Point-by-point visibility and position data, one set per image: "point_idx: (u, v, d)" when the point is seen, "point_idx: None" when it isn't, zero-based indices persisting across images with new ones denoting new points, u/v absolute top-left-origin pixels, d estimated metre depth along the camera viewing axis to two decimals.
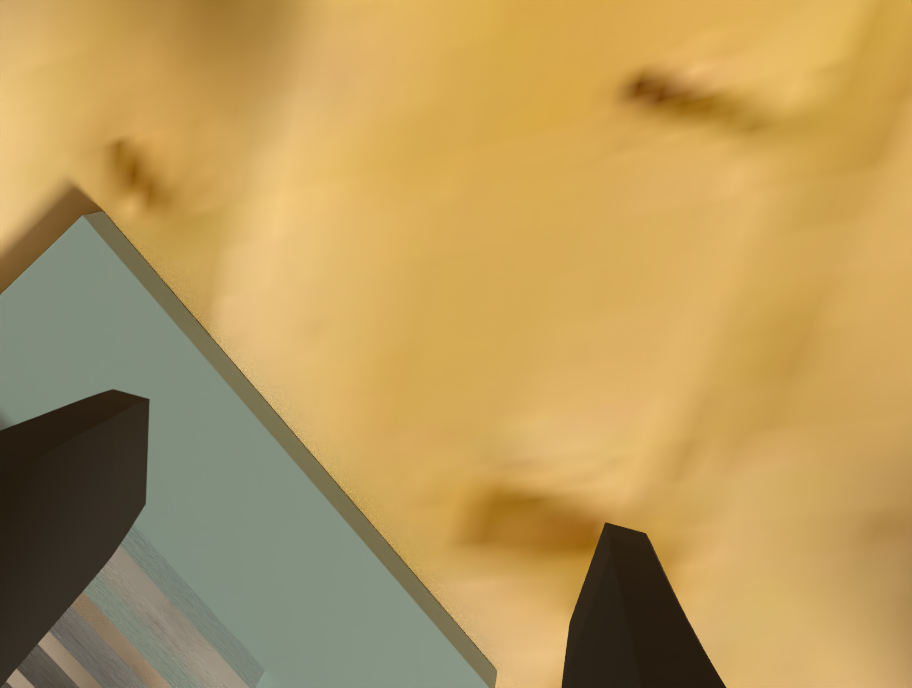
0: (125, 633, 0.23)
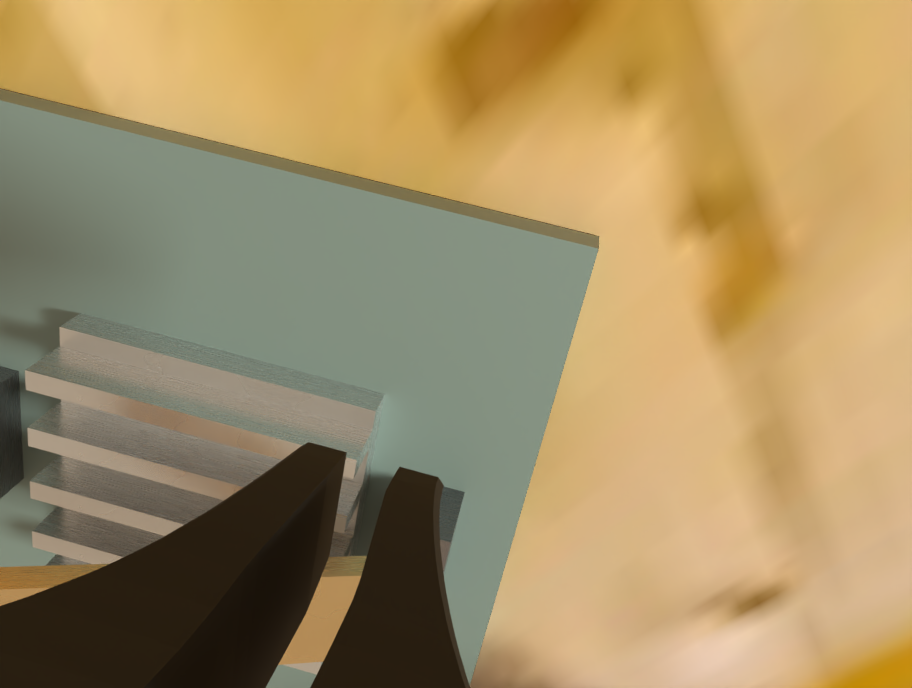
0: (209, 417, 0.21)
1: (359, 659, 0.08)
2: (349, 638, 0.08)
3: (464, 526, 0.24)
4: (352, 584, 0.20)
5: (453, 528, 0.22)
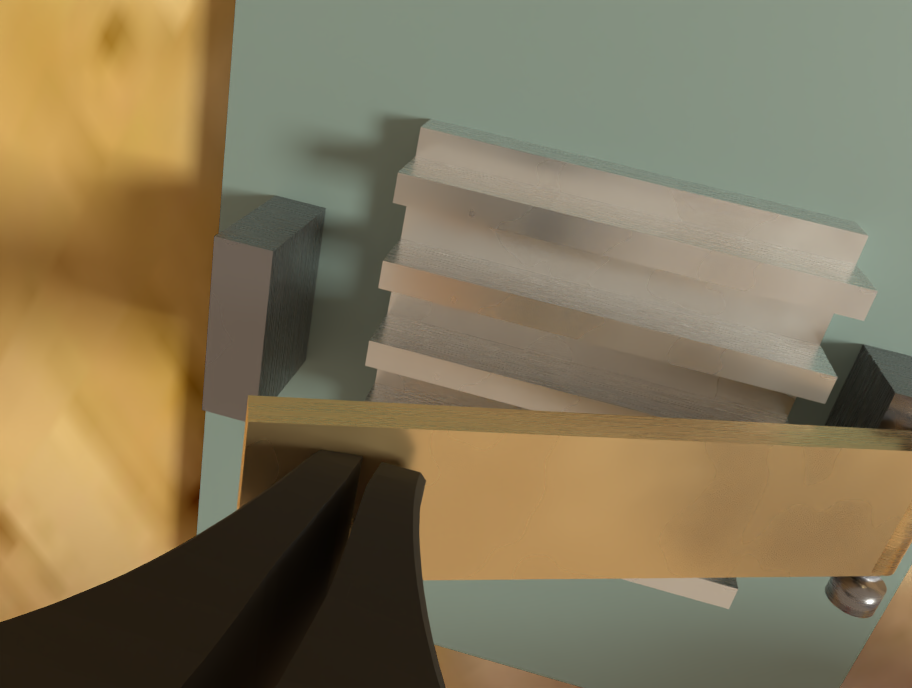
0: (660, 235, 0.15)
1: (332, 651, 0.08)
2: (323, 630, 0.08)
3: None
4: (873, 462, 0.15)
5: None
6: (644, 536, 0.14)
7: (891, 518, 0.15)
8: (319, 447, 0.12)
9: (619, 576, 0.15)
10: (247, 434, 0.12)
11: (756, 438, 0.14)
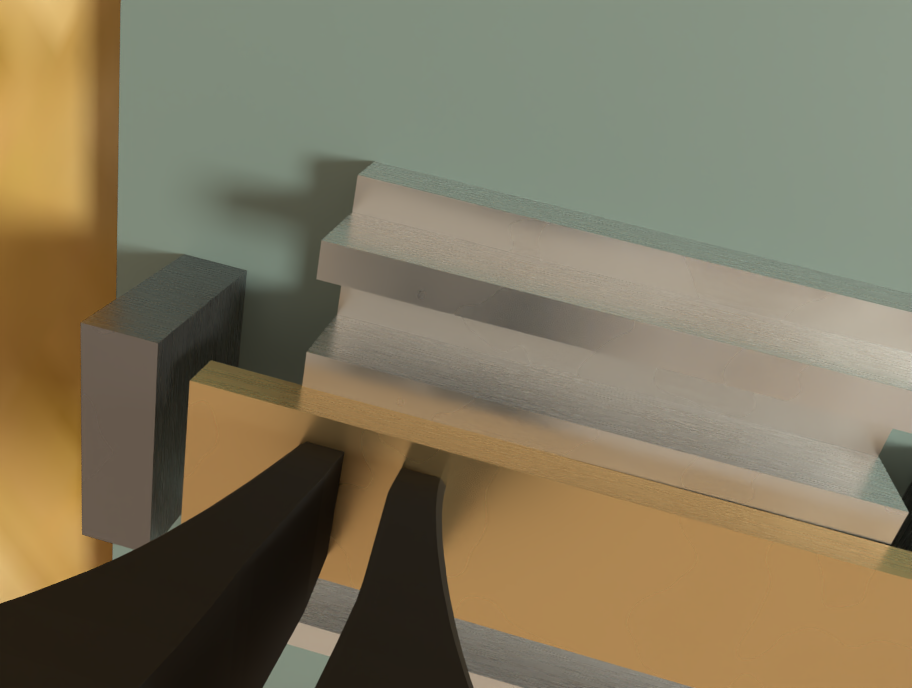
0: (673, 327, 0.11)
1: (363, 660, 0.08)
2: (353, 639, 0.08)
3: None
4: None
5: None
6: (608, 611, 0.12)
7: None
8: (254, 421, 0.12)
9: (580, 651, 0.13)
10: (190, 392, 0.12)
11: (755, 529, 0.12)
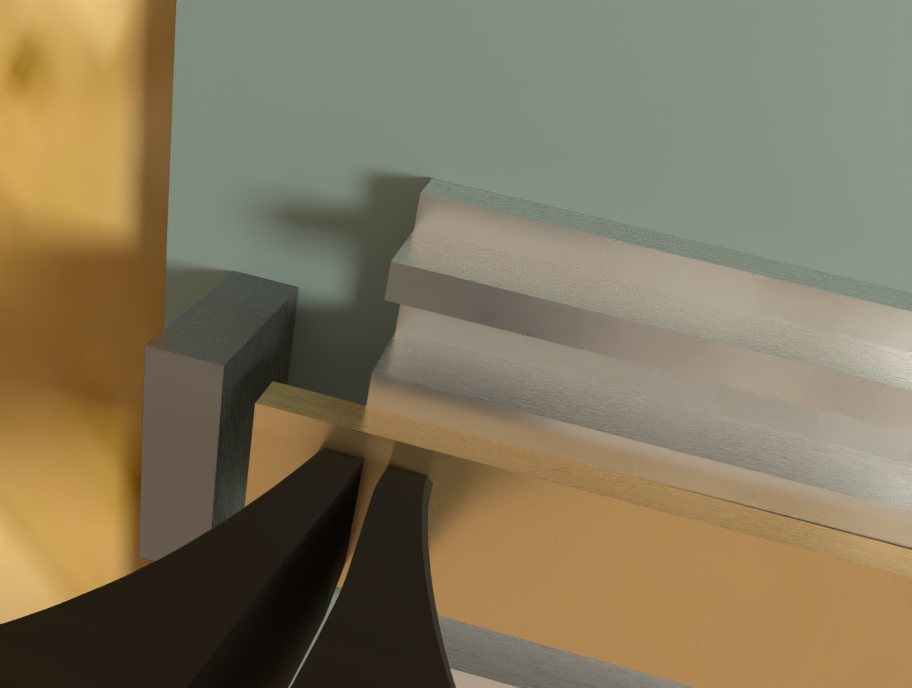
0: (747, 346, 0.11)
1: (343, 655, 0.08)
2: (334, 634, 0.08)
3: None
4: None
5: None
6: (676, 630, 0.12)
7: None
8: (319, 443, 0.12)
9: (646, 670, 0.13)
10: (255, 415, 0.12)
11: (829, 548, 0.11)
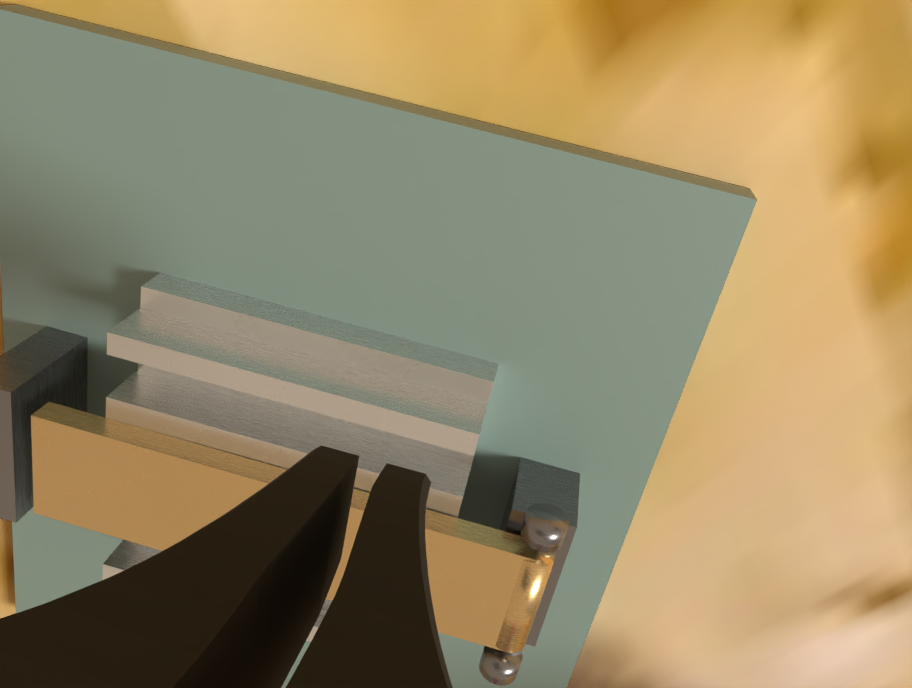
0: (313, 386, 0.19)
1: (339, 653, 0.08)
2: (330, 633, 0.08)
3: None
4: (465, 550, 0.19)
5: (576, 512, 0.20)
6: None
7: (498, 602, 0.19)
8: (71, 440, 0.20)
9: None
10: (32, 422, 0.20)
11: None
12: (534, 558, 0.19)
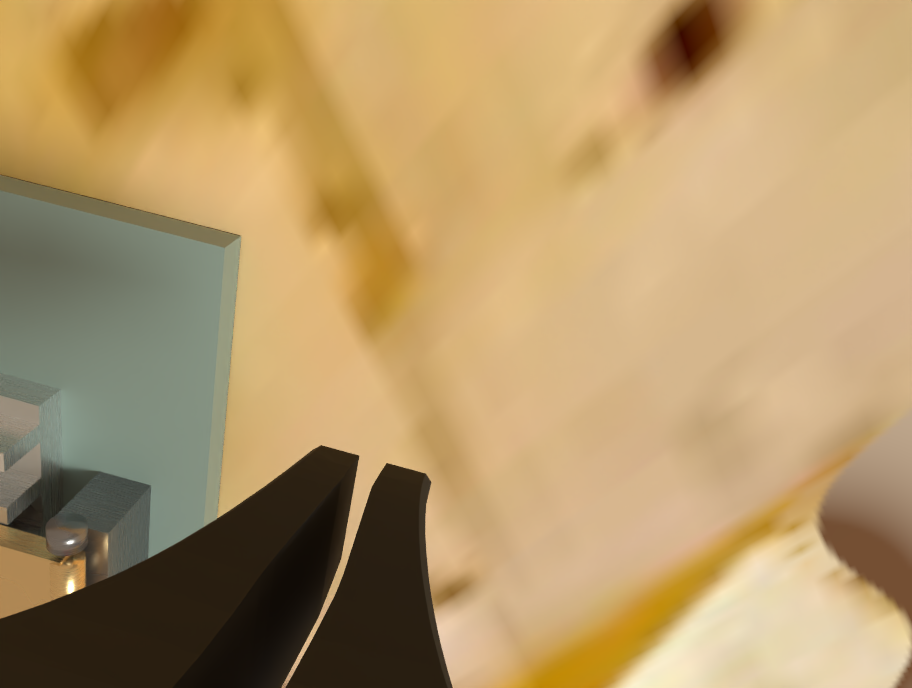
0: None
1: (339, 653, 0.08)
2: (330, 633, 0.08)
3: (157, 519, 0.25)
4: (2, 554, 0.22)
5: (118, 520, 0.23)
6: None
7: (41, 600, 0.22)
8: None
9: None
10: None
11: None
12: (62, 561, 0.22)
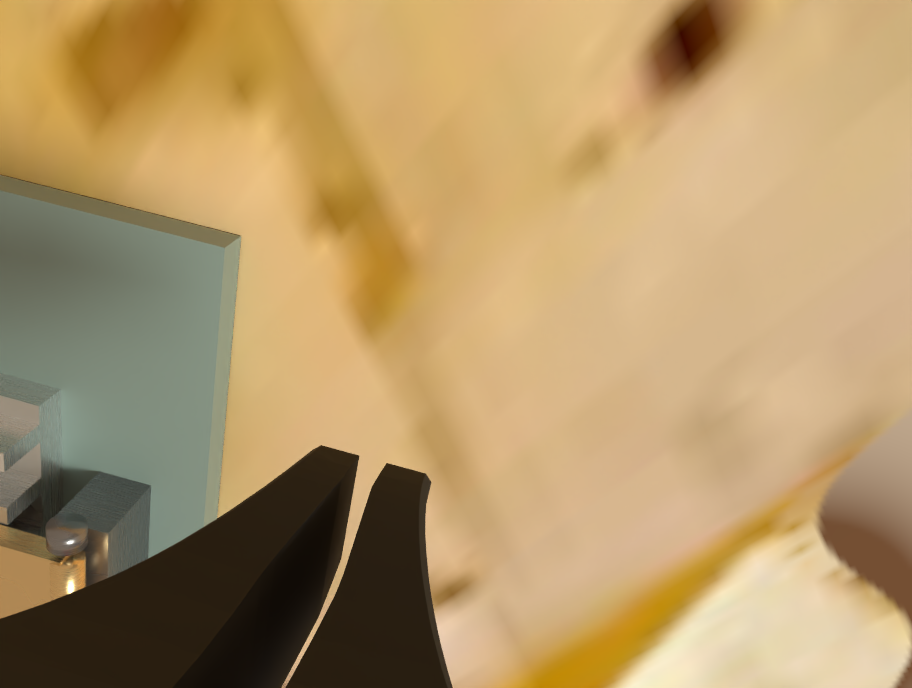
0: None
1: (339, 653, 0.08)
2: (330, 633, 0.08)
3: (157, 519, 0.25)
4: (2, 554, 0.22)
5: (118, 520, 0.23)
6: None
7: (41, 600, 0.22)
8: None
9: None
10: None
11: None
12: (62, 561, 0.22)
